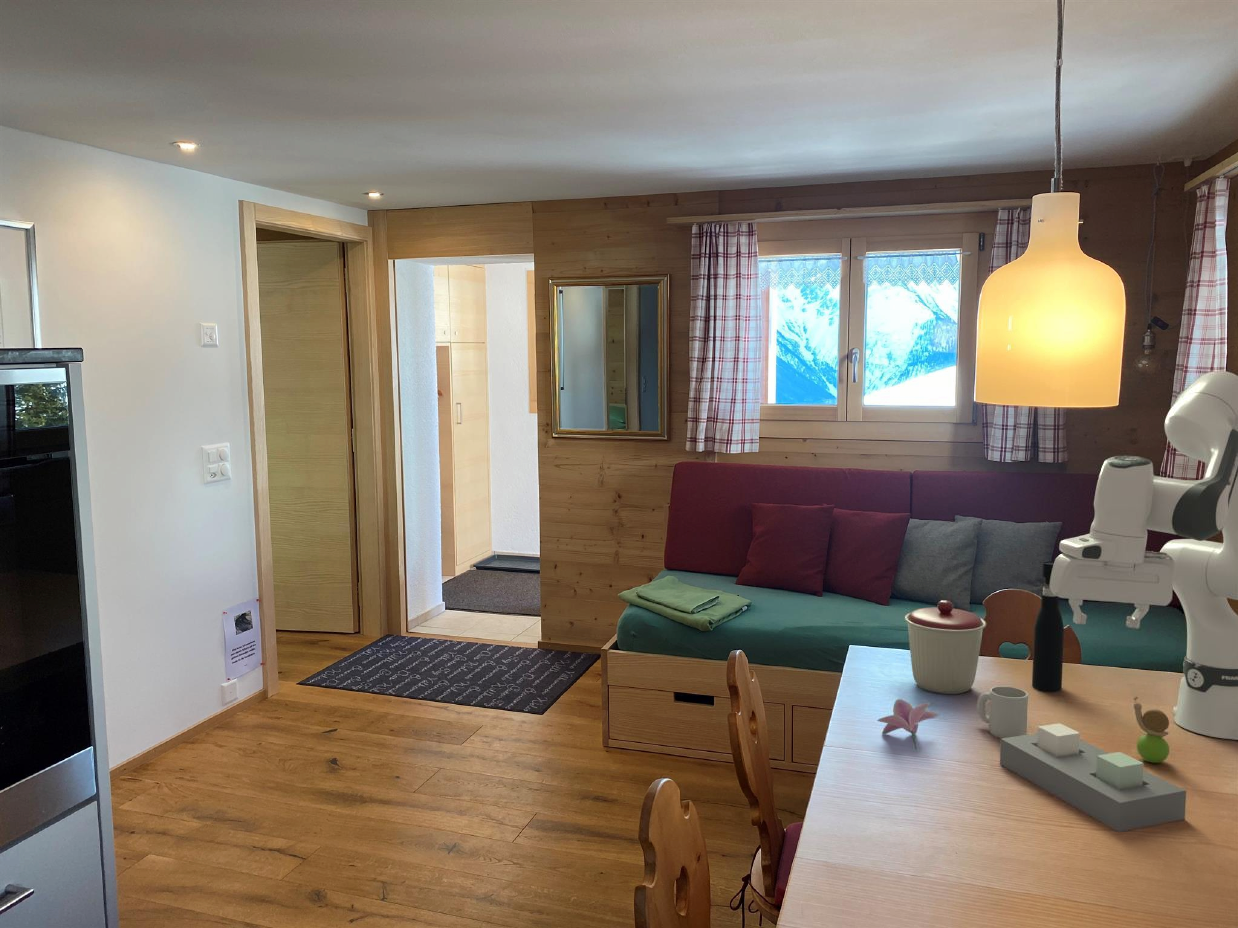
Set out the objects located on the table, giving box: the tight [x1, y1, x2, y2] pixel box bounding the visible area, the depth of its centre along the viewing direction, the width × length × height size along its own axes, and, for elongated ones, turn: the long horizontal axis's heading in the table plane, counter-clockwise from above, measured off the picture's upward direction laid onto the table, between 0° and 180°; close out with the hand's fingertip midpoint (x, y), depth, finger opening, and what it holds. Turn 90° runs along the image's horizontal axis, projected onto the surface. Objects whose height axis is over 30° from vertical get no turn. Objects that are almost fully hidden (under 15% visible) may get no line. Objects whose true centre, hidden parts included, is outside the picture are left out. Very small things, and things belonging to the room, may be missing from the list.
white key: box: [1037, 722, 1081, 757], centre depth 173 cm, size 5×5×5 cm
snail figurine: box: [1133, 696, 1170, 764], centre depth 178 cm, size 5×6×12 cm
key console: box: [999, 732, 1187, 833], centre depth 167 cm, size 14×28×5 cm, turn 18°
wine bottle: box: [1031, 560, 1065, 693], centre depth 219 cm, size 6×6×30 cm
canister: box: [904, 599, 987, 695], centre depth 220 cm, size 18×18×21 cm
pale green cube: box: [1096, 751, 1144, 790], centre depth 160 cm, size 5×5×5 cm
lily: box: [876, 698, 940, 750], centre depth 189 cm, size 12×12×10 cm
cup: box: [976, 685, 1029, 739], centre depth 193 cm, size 7×10×9 cm
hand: (1105, 625), depth 164 cm, fingers open, 8 cm apart
